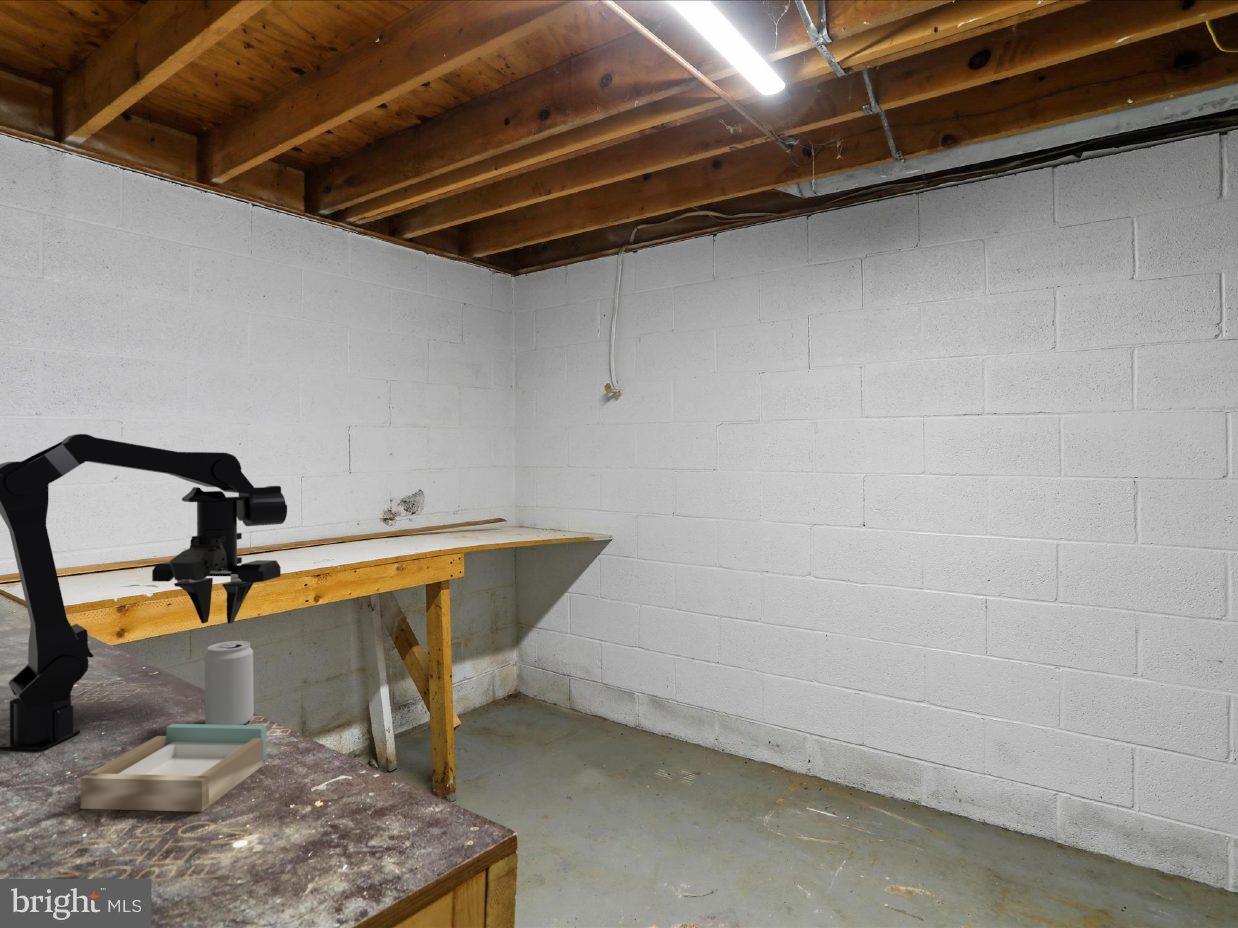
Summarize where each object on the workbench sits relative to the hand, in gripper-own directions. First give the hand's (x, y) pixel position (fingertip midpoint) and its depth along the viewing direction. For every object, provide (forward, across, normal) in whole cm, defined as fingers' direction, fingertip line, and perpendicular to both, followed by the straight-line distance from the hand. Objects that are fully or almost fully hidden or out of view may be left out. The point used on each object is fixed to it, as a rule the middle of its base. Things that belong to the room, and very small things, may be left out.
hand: (217, 622), depth 115 cm
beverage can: (+13, +8, -9) cm, 18 cm away
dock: (+13, +14, -28) cm, 34 cm away
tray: (+13, +14, -28) cm, 34 cm away
